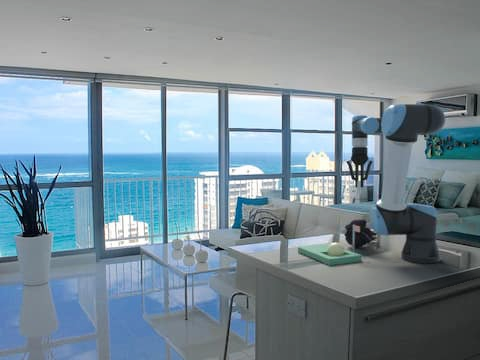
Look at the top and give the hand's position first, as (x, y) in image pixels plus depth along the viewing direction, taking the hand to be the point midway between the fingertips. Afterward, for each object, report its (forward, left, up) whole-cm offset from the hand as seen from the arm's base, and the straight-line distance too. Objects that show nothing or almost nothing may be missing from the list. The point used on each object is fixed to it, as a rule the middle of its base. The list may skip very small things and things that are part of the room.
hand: (359, 193), depth 209 cm
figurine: (-2, +13, -25) cm, 28 cm away
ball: (+2, +40, -21) cm, 45 cm away
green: (+6, +37, -24) cm, 44 cm away
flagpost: (-6, +34, -24) cm, 42 cm away
